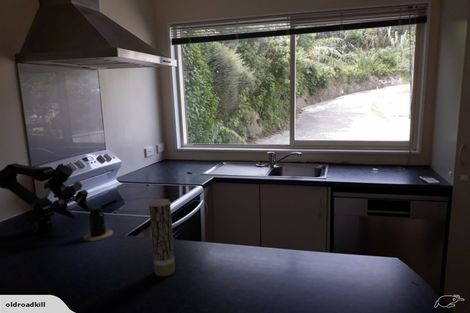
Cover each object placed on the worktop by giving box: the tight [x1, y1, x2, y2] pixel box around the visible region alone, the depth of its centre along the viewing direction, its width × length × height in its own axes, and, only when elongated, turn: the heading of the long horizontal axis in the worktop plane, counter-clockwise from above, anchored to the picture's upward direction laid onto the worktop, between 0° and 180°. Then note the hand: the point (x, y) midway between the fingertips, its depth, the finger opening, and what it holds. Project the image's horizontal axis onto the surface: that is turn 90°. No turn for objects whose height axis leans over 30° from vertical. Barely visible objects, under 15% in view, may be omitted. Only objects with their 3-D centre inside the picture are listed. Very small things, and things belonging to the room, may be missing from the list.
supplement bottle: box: [87, 206, 107, 236], centre depth 150 cm, size 7×7×12 cm
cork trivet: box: [83, 228, 114, 242], centre depth 151 cm, size 12×12×1 cm
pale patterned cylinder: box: [148, 198, 176, 277], centre depth 114 cm, size 7×7×25 cm
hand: (82, 214), depth 151 cm, fingers open, 9 cm apart
